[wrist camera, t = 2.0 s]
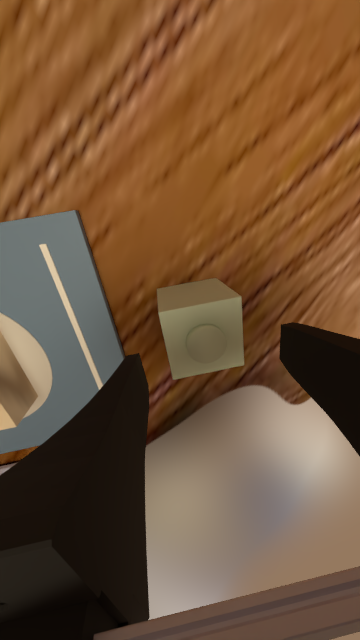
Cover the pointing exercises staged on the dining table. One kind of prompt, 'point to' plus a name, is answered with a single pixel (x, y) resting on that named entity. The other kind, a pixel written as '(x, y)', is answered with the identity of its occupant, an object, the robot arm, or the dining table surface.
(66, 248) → the board
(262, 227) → the dining table surface
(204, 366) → the sage block
